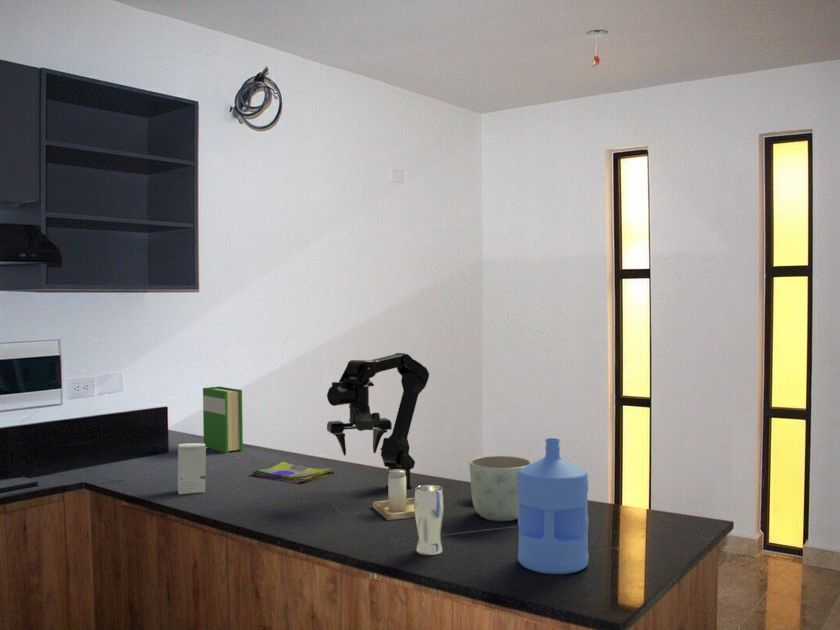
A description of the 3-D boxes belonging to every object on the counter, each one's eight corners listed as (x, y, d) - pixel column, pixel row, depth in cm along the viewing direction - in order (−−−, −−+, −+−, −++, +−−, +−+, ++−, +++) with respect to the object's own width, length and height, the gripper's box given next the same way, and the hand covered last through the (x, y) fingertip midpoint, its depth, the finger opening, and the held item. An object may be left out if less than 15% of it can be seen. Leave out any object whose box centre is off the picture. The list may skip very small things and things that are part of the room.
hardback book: (242, 451, 315) (241, 390, 314) (225, 453, 310) (225, 391, 309) (220, 445, 328) (219, 386, 327) (203, 447, 323) (202, 388, 322)
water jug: (524, 550, 190) (523, 432, 189) (591, 555, 186) (591, 435, 185) (512, 571, 175) (511, 444, 175) (585, 578, 171) (584, 447, 170)
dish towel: (284, 467, 286) (284, 459, 286) (337, 475, 273) (337, 467, 273) (248, 476, 272) (248, 468, 272) (302, 486, 258) (302, 477, 258)
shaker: (398, 506, 228) (398, 468, 228) (410, 510, 224) (409, 471, 224) (384, 509, 225) (384, 470, 224) (396, 513, 221) (395, 473, 221)
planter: (521, 507, 228) (521, 454, 227) (540, 524, 211) (540, 467, 211) (463, 511, 225) (463, 456, 224) (478, 528, 208) (477, 469, 208)
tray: (419, 504, 232) (419, 497, 232) (436, 516, 219) (436, 509, 219) (373, 508, 228) (372, 501, 228) (387, 521, 215) (387, 514, 214)
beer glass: (413, 547, 193) (413, 485, 193) (442, 546, 194) (442, 484, 193) (415, 556, 186) (415, 492, 186) (445, 555, 187) (445, 491, 186)
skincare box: (178, 495, 246) (177, 446, 245) (177, 490, 251) (176, 443, 251) (206, 492, 248) (206, 444, 248) (205, 488, 254) (204, 441, 254)
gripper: (335, 407, 229) (335, 461, 230) (397, 404, 236) (397, 456, 236) (326, 402, 240) (326, 454, 240) (386, 399, 246) (386, 450, 247)
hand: (359, 454), depth 241 cm, fingers open, 9 cm apart
